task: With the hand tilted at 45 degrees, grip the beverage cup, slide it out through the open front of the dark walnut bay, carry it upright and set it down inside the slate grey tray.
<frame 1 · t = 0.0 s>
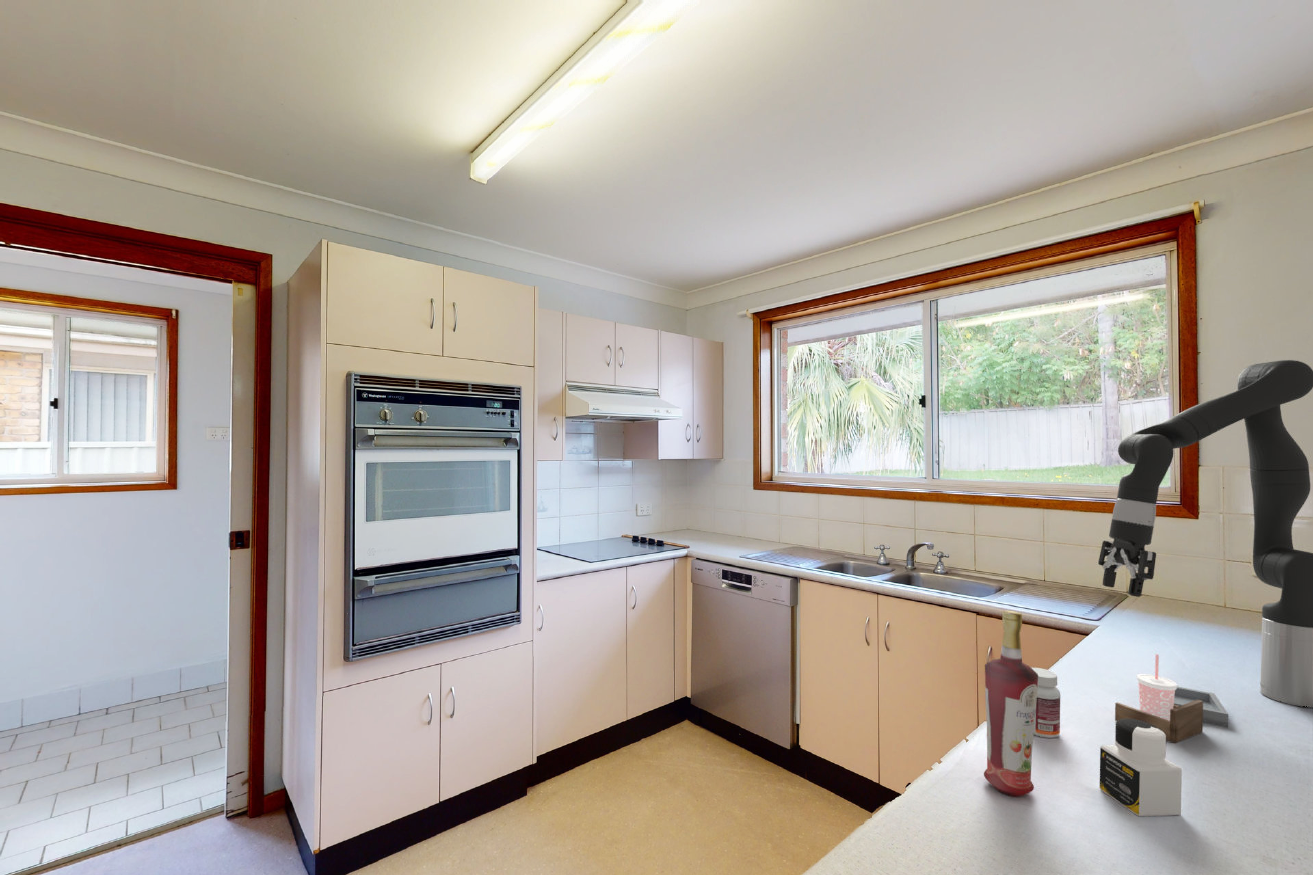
hand: (1120, 591, 135), 22 cm above the countertop, tool pointing down, fingers open, 8 cm apart
grey tray: (1182, 707, 126), on the countertop
liquor: (1008, 789, 94), on the countertop
pill bottle: (1040, 732, 114), on the countertop
medicine bottle: (1138, 803, 92), on the countertop
beverage cup: (1155, 726, 117), on the countertop
walnut bay: (1155, 725, 117), on the countertop
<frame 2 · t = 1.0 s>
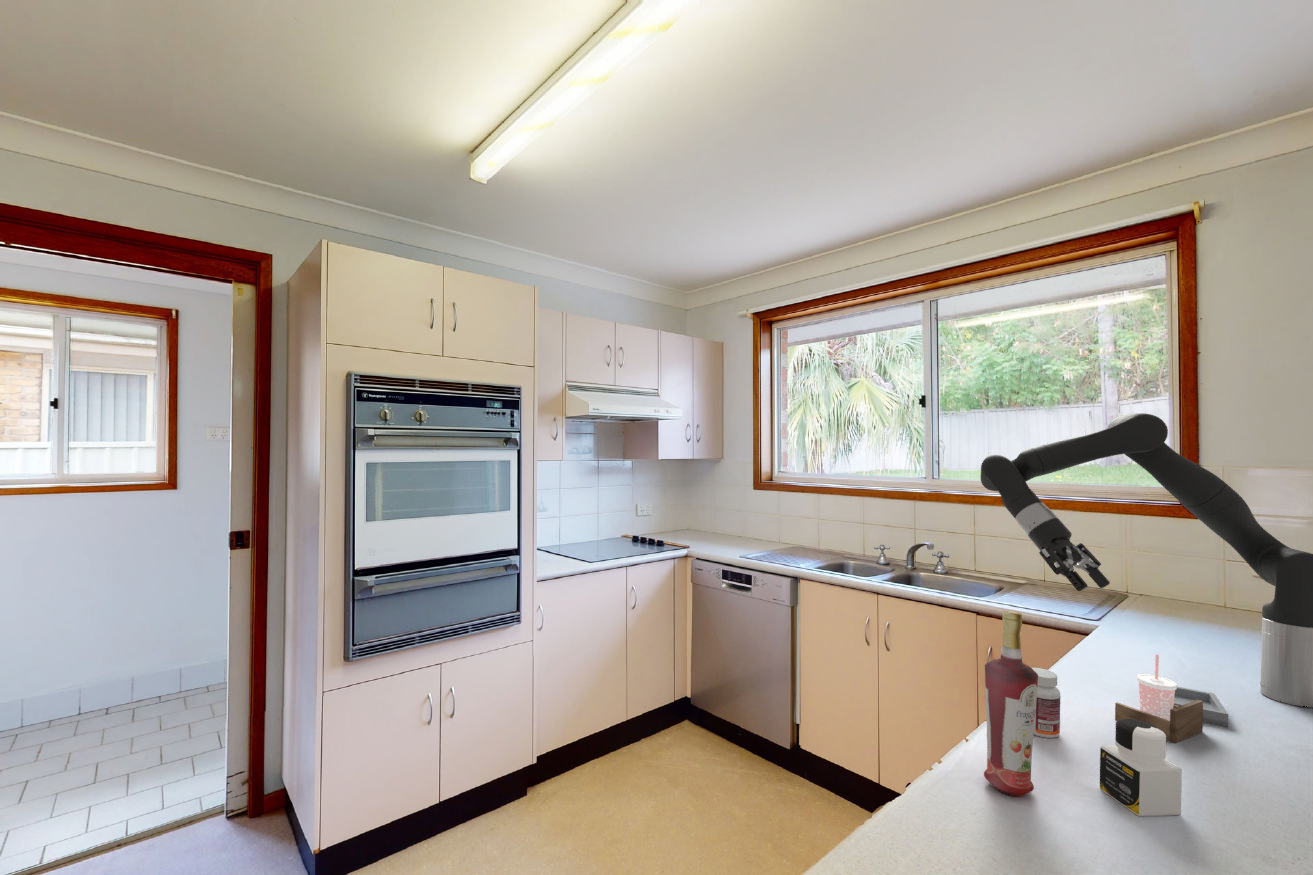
hand: (1094, 587, 128), 25 cm above the countertop, tool tilted 45°, fingers open, 8 cm apart
nothing on the countertop moved.
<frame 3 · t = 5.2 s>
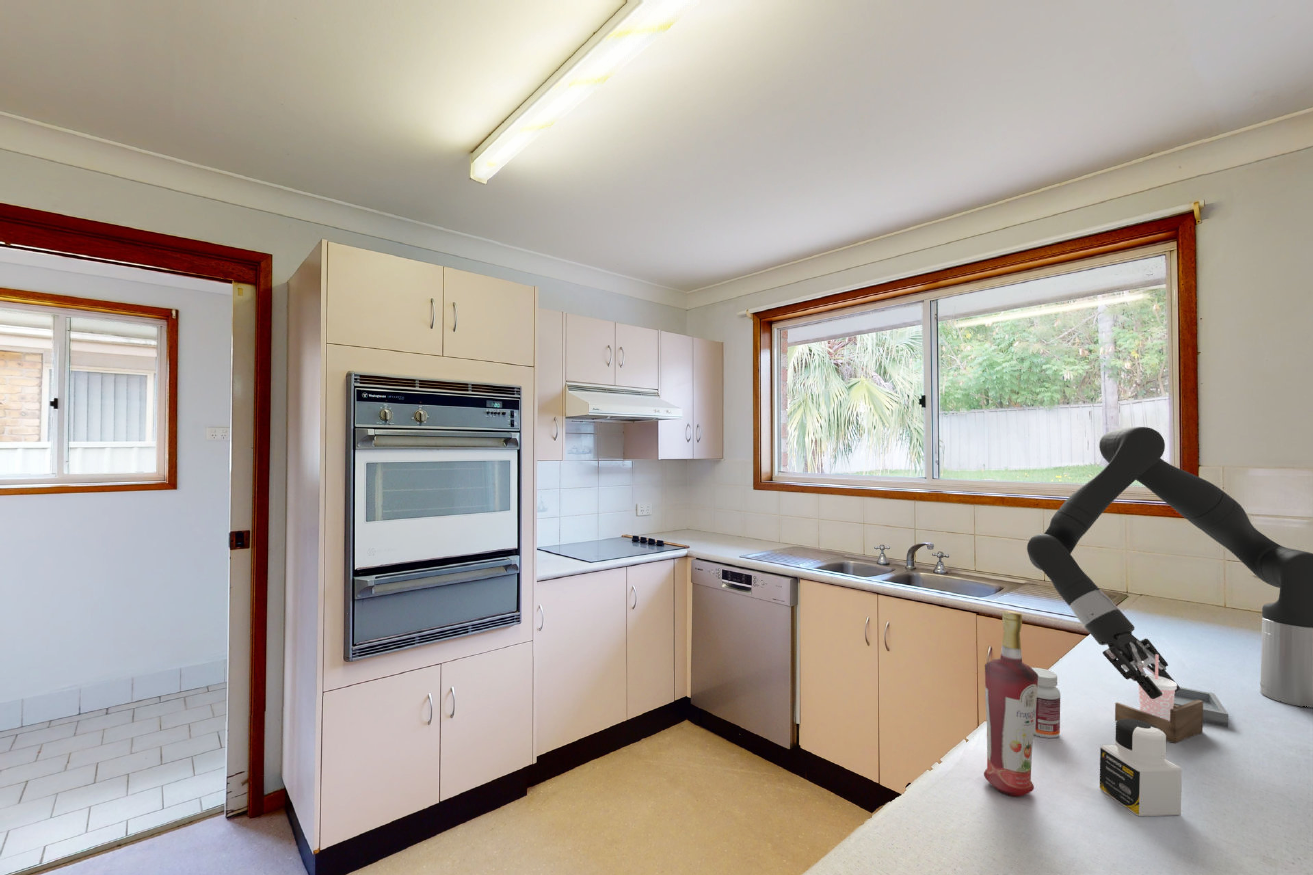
hand: (1166, 693, 116), 7 cm above the countertop, tool tilted 45°, fingers closed on beverage cup, 6 cm apart
beverage cup: (1155, 726, 117), on the countertop, touching gripper
everything else where it was.
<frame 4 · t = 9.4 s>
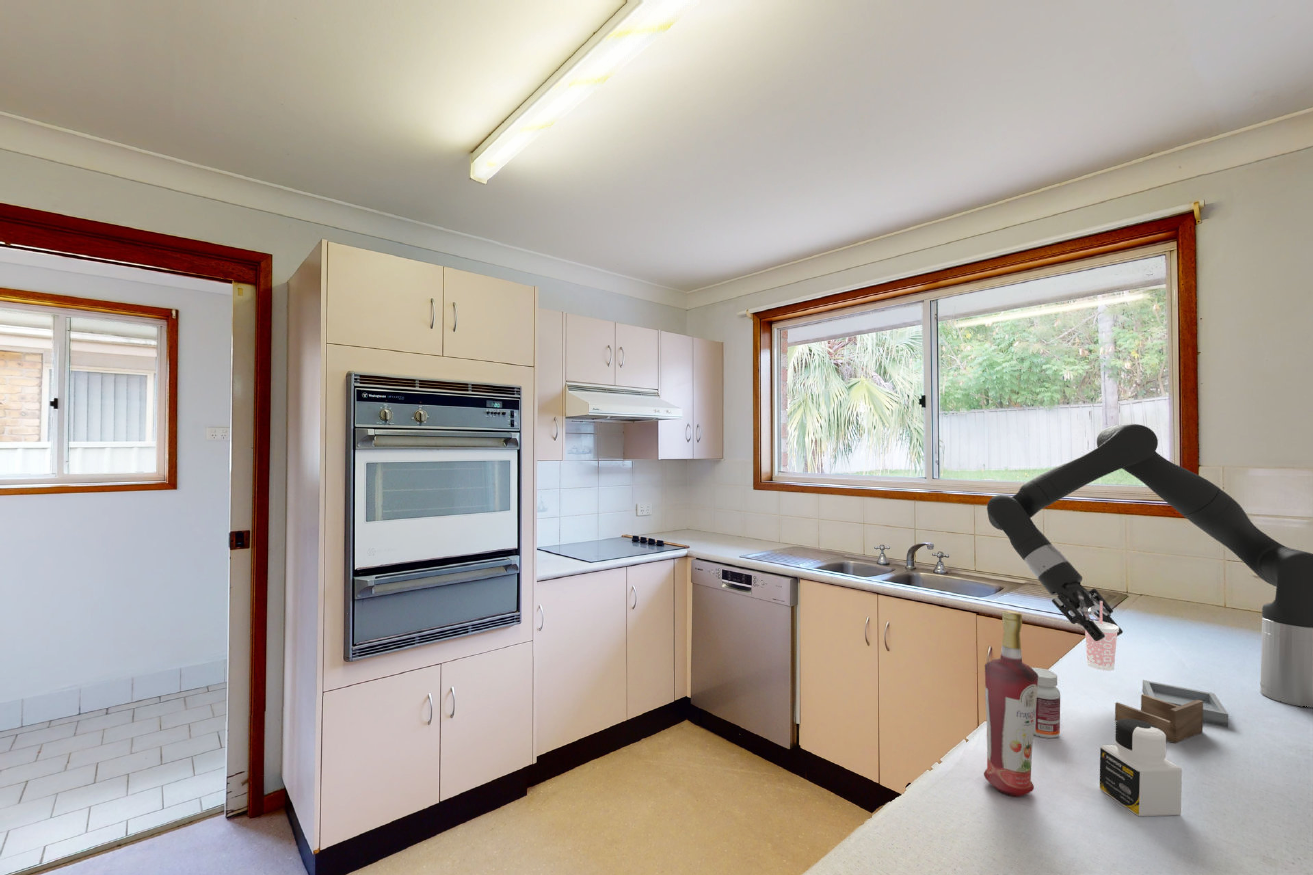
hand: (1109, 636, 125), 15 cm above the countertop, tool tilted 45°, fingers closed on beverage cup, 6 cm apart
beverage cup: (1100, 667, 127), point 8 cm above the countertop, touching gripper
everything else where it was.
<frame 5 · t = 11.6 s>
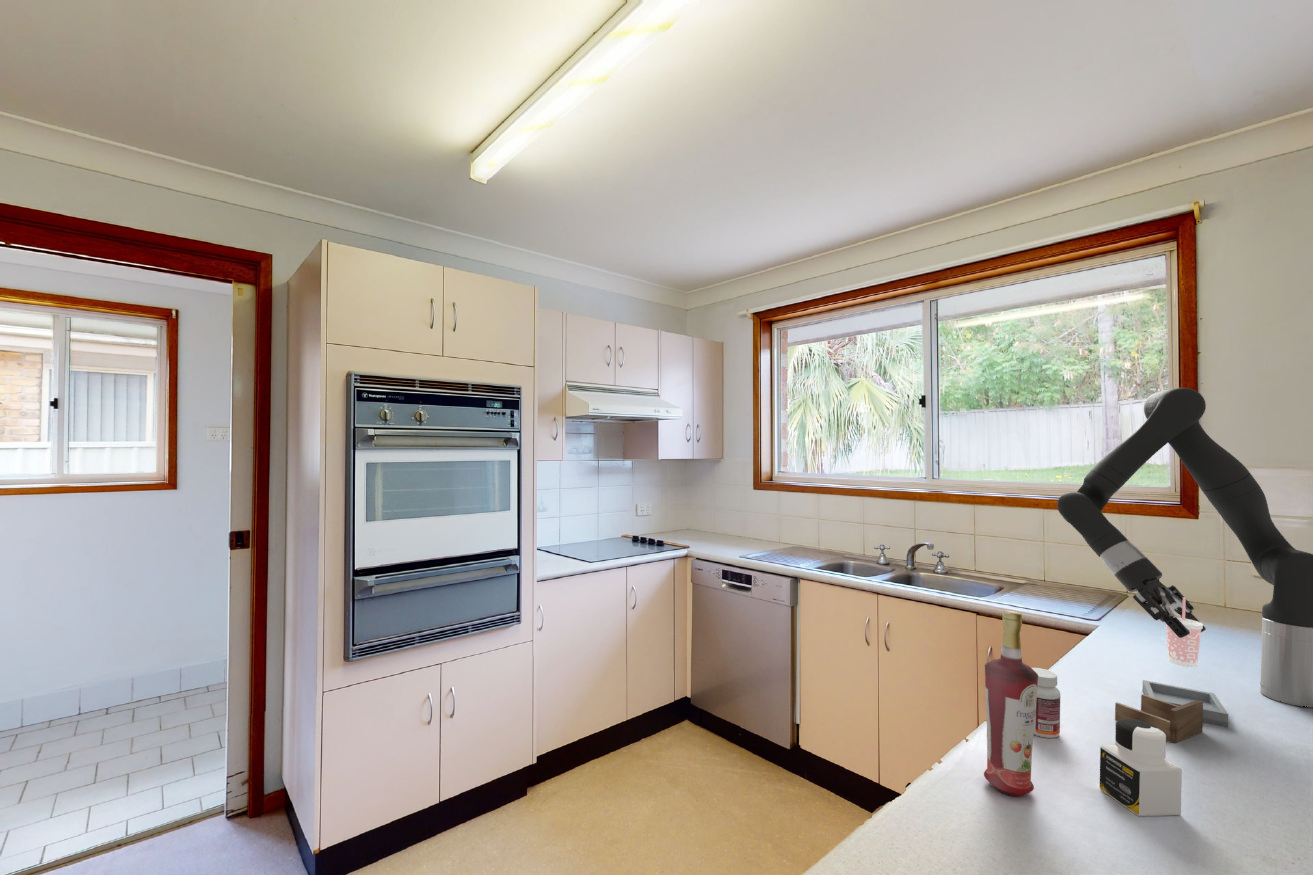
hand: (1193, 633, 124), 16 cm above the countertop, tool tilted 45°, fingers closed on beverage cup, 6 cm apart
beverage cup: (1182, 664, 126), point 9 cm above the countertop, touching gripper
everything else where it was.
when the fingers open (9 cm above the countertop, at t = 13.7 s): beverage cup drops 1 cm, resting on grey tray.
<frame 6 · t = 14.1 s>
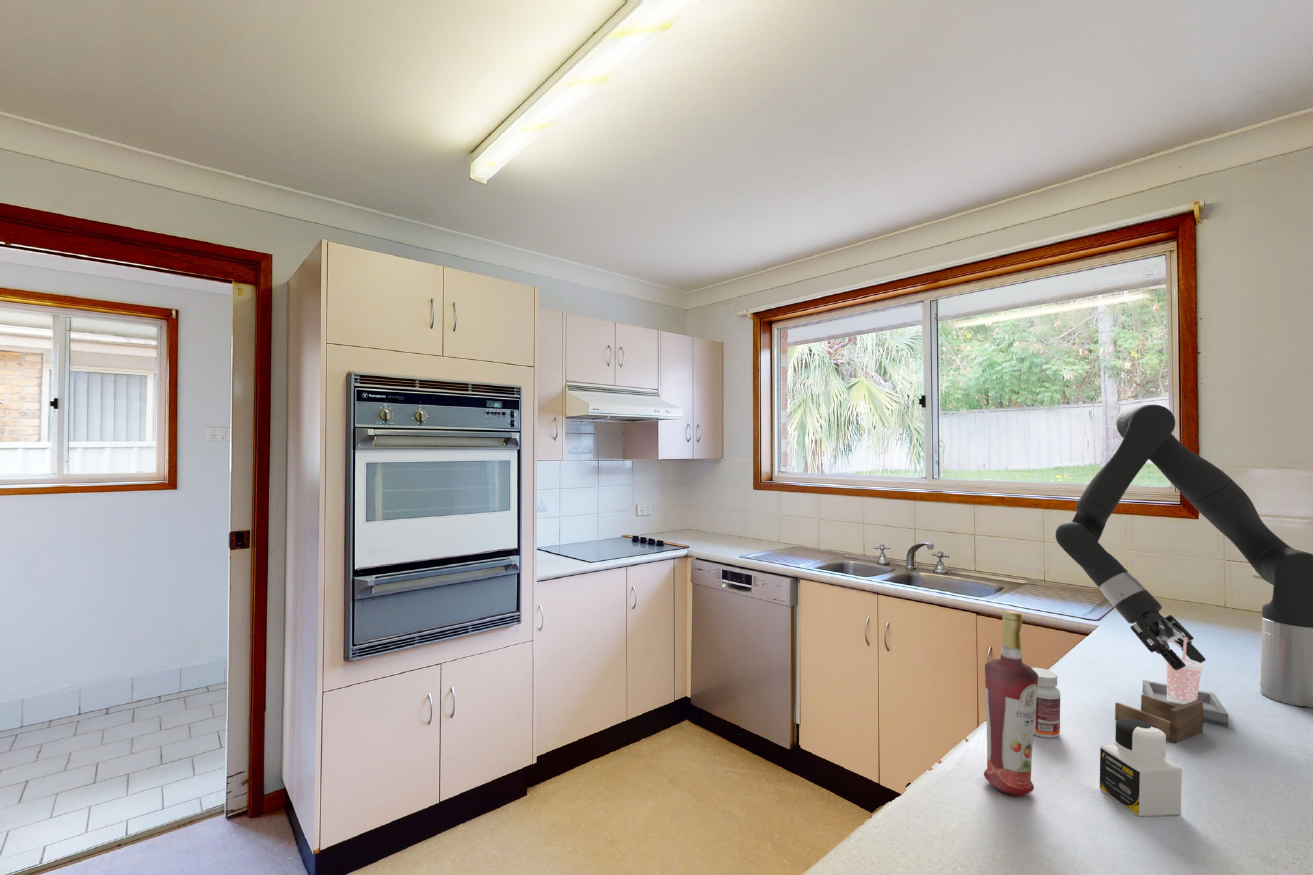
hand: (1191, 665, 125), 9 cm above the countertop, tool tilted 45°, fingers open, 8 cm apart
beverage cup: (1181, 703, 126), point 1 cm above the countertop, touching grey tray
everything else where it was.
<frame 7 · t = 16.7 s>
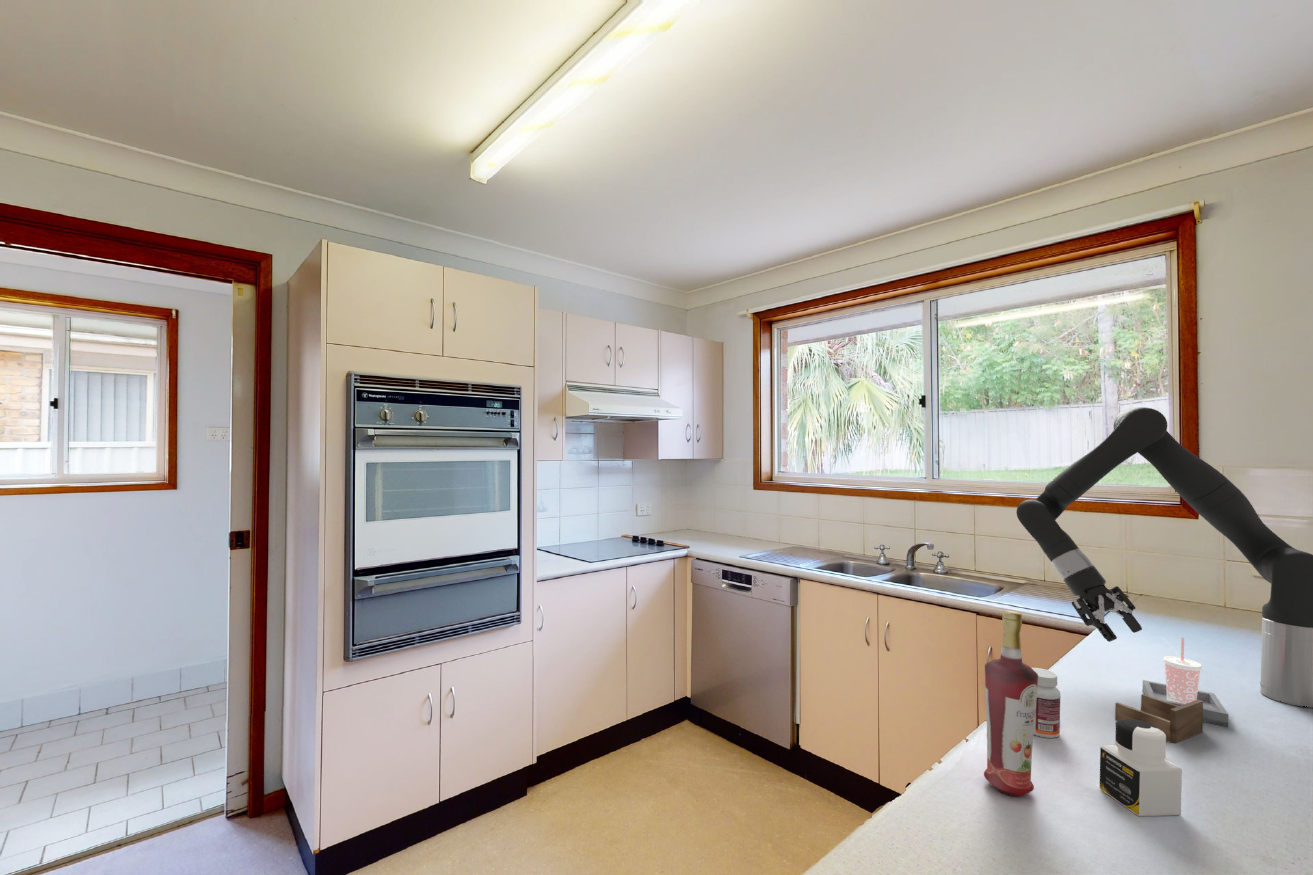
hand: (1125, 635, 137), 12 cm above the countertop, tool tilted 40°, fingers open, 8 cm apart
nothing on the countertop moved.
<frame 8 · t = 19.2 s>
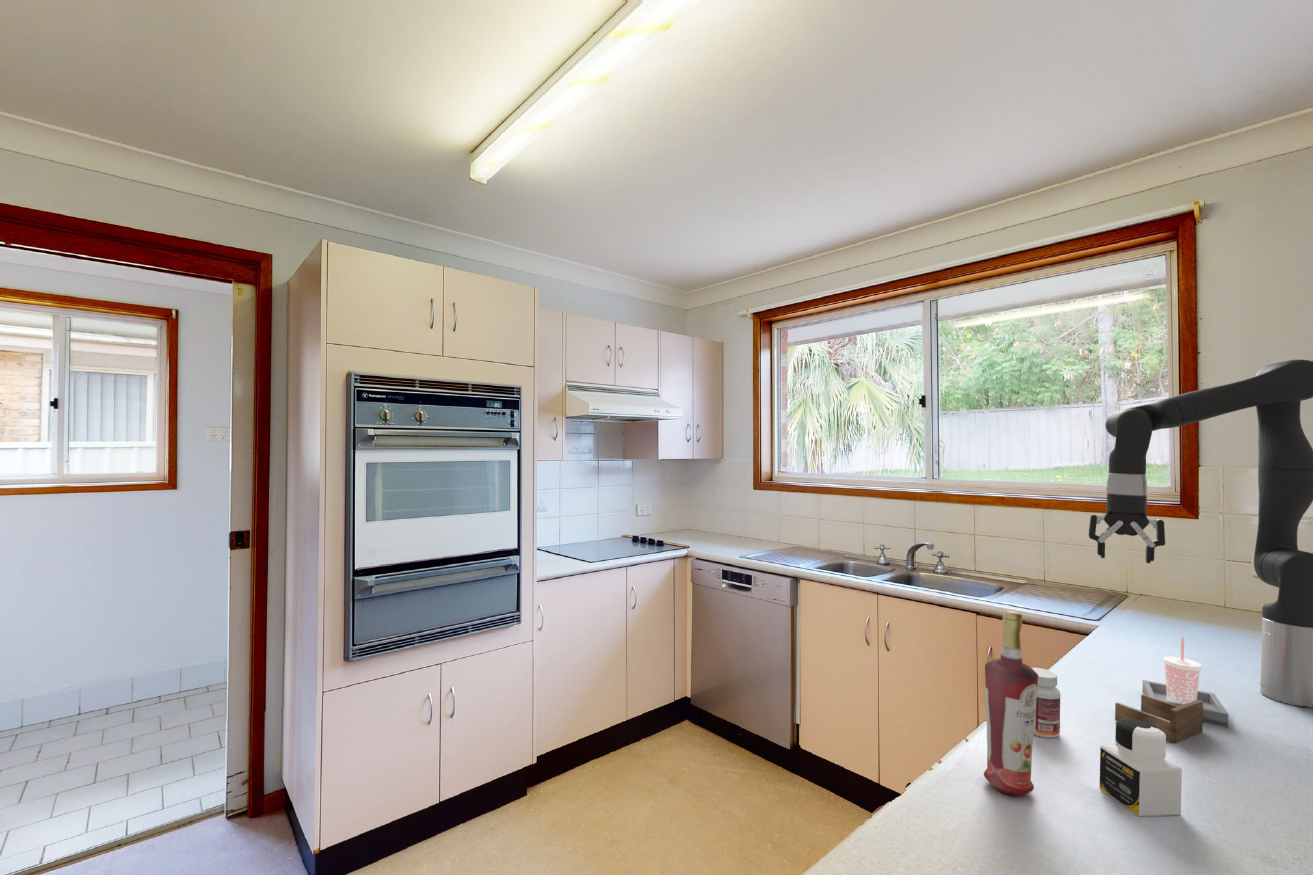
hand: (1125, 560, 142), 28 cm above the countertop, tool pointing down, fingers open, 8 cm apart
nothing on the countertop moved.
at the end: beverage cup 0.2 cm off-centre on the grey tray, point 0.6 cm above the grey tray's base; beverage cup tilted 0°; the gripper is holding nothing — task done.
